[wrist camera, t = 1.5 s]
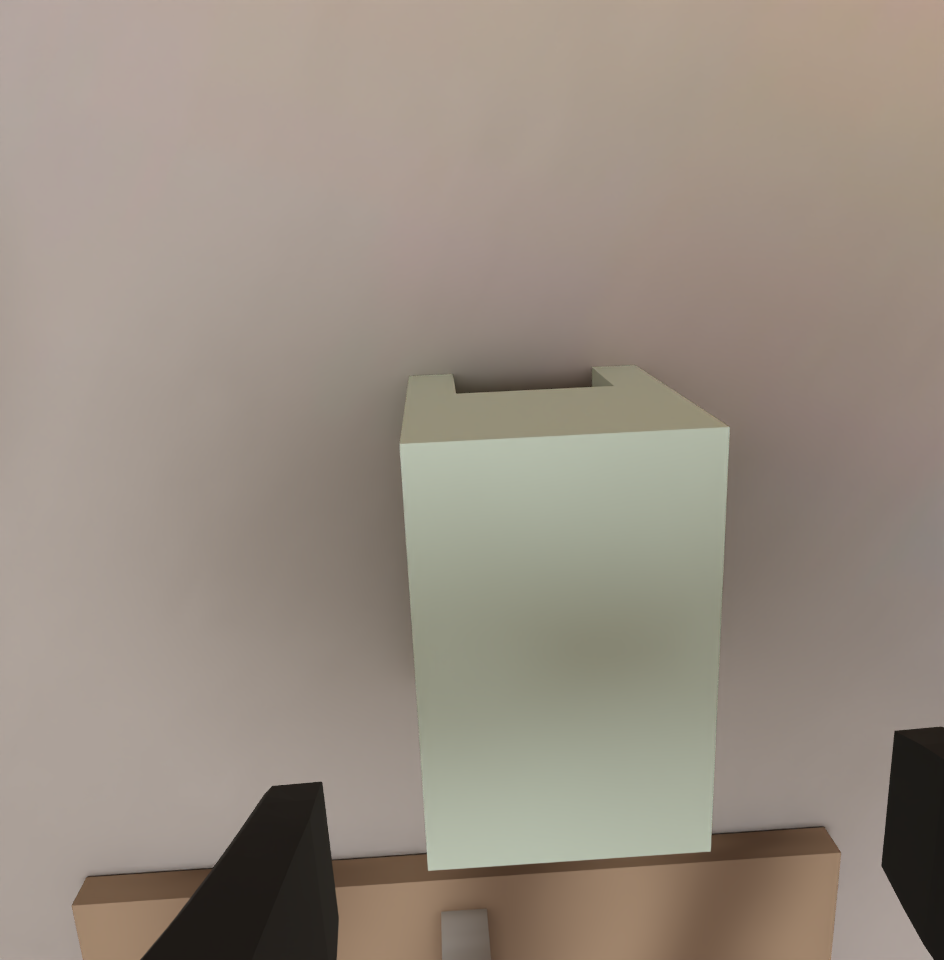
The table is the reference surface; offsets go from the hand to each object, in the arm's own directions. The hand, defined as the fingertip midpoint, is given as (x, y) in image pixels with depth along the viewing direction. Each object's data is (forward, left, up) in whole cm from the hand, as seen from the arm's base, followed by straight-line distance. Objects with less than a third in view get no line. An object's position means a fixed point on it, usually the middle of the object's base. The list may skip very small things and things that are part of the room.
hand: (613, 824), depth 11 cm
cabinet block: (0, 0, -11) cm, 11 cm away
